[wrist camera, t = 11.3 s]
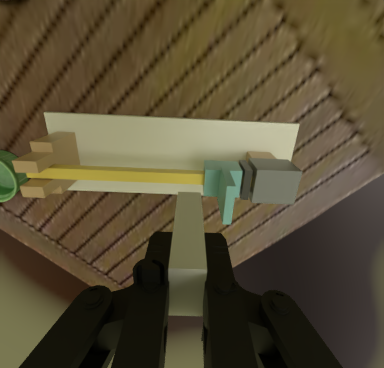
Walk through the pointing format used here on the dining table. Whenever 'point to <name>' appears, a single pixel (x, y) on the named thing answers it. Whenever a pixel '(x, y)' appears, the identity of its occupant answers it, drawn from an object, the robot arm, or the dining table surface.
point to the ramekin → (9, 176)
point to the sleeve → (223, 185)
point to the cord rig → (158, 155)
